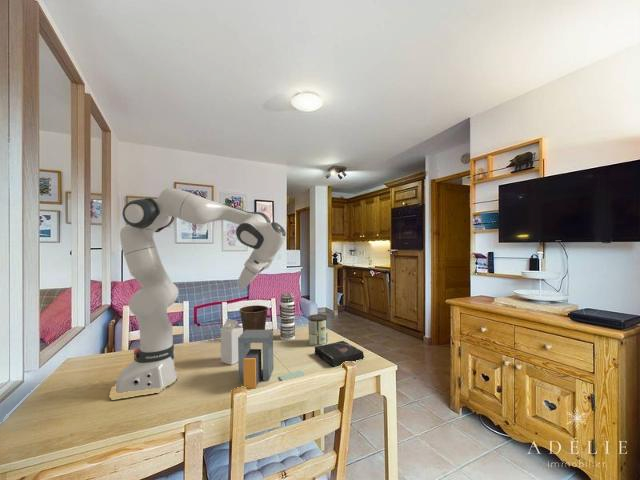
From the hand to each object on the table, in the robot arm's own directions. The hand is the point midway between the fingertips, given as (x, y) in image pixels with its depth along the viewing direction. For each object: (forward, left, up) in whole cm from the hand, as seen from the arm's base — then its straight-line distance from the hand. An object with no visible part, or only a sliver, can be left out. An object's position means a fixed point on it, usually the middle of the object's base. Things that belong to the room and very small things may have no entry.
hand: (247, 283), depth 120 cm
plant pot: (+14, +43, -38) cm, 59 cm away
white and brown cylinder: (+30, +31, -38) cm, 57 cm away
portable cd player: (+41, -6, -38) cm, 57 cm away
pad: (+14, -16, -38) cm, 43 cm away
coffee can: (+41, +15, -38) cm, 58 cm away
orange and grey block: (0, -8, -38) cm, 38 cm away
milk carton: (-4, +15, -38) cm, 41 cm away
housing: (+2, -4, -38) cm, 38 cm away
